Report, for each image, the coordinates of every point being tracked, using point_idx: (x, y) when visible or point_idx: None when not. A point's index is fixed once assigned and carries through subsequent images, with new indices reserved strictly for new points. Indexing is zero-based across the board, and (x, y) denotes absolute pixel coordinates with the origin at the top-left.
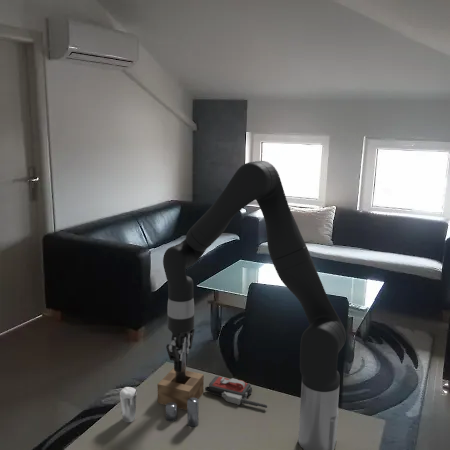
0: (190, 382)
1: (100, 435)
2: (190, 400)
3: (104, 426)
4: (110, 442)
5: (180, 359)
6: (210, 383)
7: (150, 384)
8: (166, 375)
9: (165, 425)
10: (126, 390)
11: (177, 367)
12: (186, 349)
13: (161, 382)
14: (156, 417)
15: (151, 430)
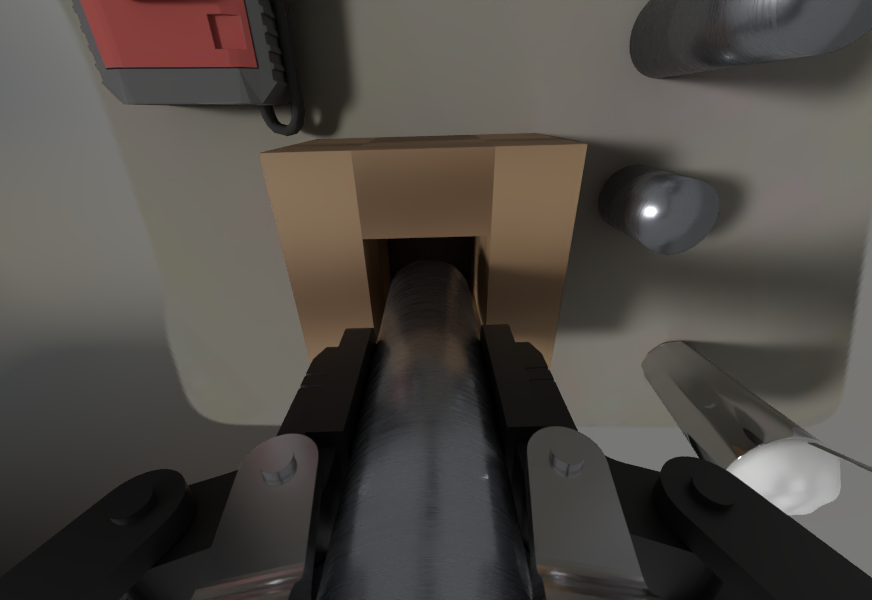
0: (441, 204)
1: (781, 393)
2: (842, 10)
3: None
4: (830, 345)
5: (591, 452)
6: (247, 95)
7: None
8: None
9: None
10: (807, 501)
11: (548, 382)
12: (308, 539)
13: None
14: (634, 269)
15: (745, 239)
